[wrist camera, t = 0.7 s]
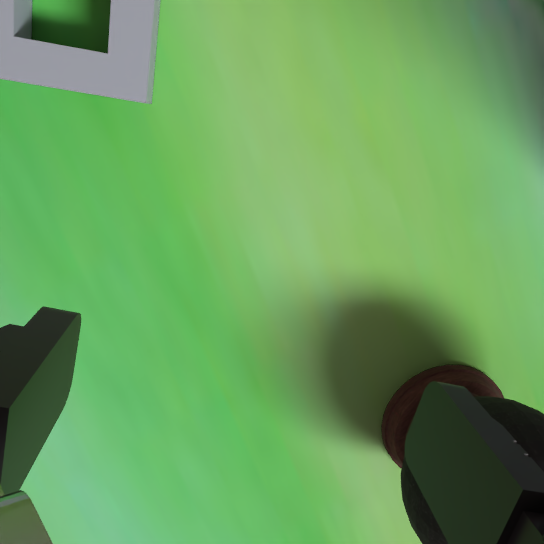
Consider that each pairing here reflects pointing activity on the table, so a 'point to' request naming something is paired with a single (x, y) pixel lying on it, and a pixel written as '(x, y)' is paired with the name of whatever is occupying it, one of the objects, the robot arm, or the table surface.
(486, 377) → the dark ball
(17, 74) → the socket block
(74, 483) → the table surface
